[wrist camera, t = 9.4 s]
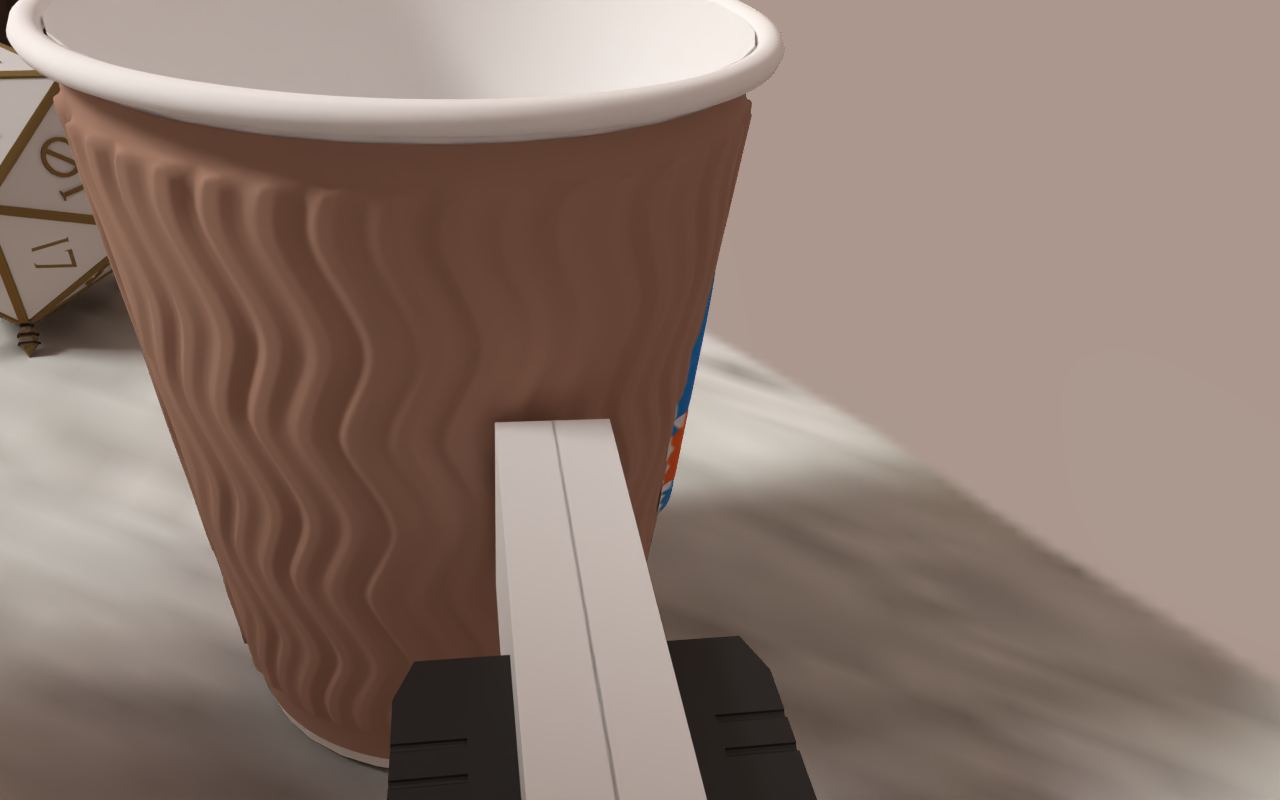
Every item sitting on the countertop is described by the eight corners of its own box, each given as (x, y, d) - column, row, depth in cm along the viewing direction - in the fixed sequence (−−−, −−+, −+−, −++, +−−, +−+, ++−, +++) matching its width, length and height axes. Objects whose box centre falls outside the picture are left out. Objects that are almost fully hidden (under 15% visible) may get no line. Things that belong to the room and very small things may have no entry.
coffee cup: (813, 704, 20) (947, 58, 14) (267, 989, 15) (91, 156, 9) (545, 441, 27) (555, -61, 21) (113, 571, 22) (-42, -48, 16)
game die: (45, 389, 35) (9, 95, 35) (262, 340, 32) (219, 25, 33) (-257, 379, 26) (-298, -9, 27) (7, 311, 24) (-45, -114, 24)
